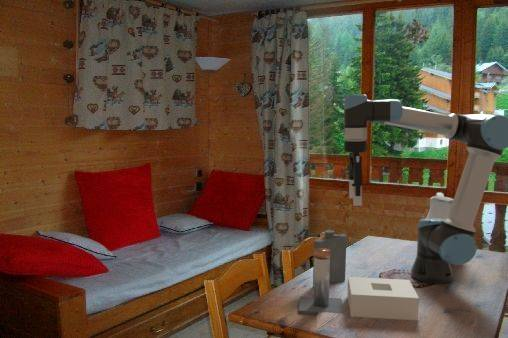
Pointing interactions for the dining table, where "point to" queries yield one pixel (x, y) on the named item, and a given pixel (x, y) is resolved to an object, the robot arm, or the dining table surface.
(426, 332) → the dining table surface
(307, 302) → the slate mat
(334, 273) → the hip flask
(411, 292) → the bore block
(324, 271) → the steel plug
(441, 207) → the pitcher
